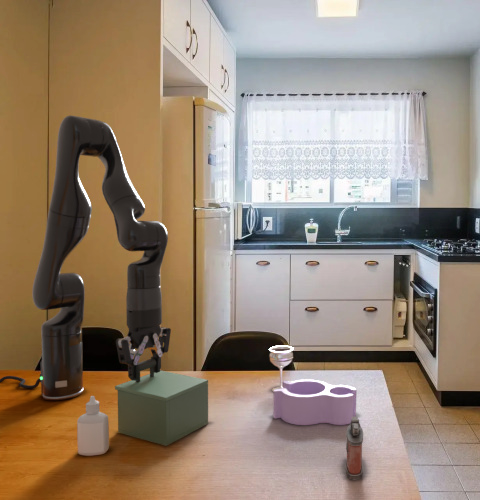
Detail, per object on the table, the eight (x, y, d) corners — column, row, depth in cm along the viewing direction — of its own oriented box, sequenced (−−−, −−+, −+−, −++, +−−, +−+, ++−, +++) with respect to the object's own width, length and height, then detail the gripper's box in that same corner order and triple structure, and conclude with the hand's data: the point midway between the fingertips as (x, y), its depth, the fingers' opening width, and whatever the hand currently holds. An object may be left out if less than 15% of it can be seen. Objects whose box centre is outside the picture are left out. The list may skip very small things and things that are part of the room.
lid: (114, 389, 111) (114, 367, 111) (159, 373, 123) (159, 352, 123) (166, 401, 105) (165, 377, 105) (208, 383, 117) (208, 361, 117)
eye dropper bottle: (93, 459, 100) (91, 402, 99) (74, 453, 102) (73, 397, 101) (112, 450, 104) (111, 395, 103) (93, 444, 106) (92, 390, 105)
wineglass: (266, 387, 143) (267, 346, 142) (289, 384, 146) (290, 344, 145) (271, 395, 137) (271, 353, 136) (295, 392, 139) (295, 351, 138)
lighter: (345, 458, 102) (346, 412, 102) (361, 458, 103) (362, 412, 102) (346, 479, 94) (347, 429, 94) (363, 479, 95) (364, 429, 94)
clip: (359, 409, 128) (359, 383, 128) (348, 429, 116) (349, 401, 116) (286, 402, 132) (286, 377, 131) (268, 421, 119) (269, 394, 119)
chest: (118, 432, 112) (117, 390, 111) (162, 412, 124) (162, 373, 123) (166, 446, 106) (166, 401, 105) (208, 423, 118) (208, 383, 117)
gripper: (157, 299, 123) (157, 365, 124) (105, 309, 110) (106, 382, 111) (179, 302, 120) (180, 369, 121) (129, 312, 107) (130, 388, 108)
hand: (145, 375), depth 116 cm, fingers open, 5 cm apart
